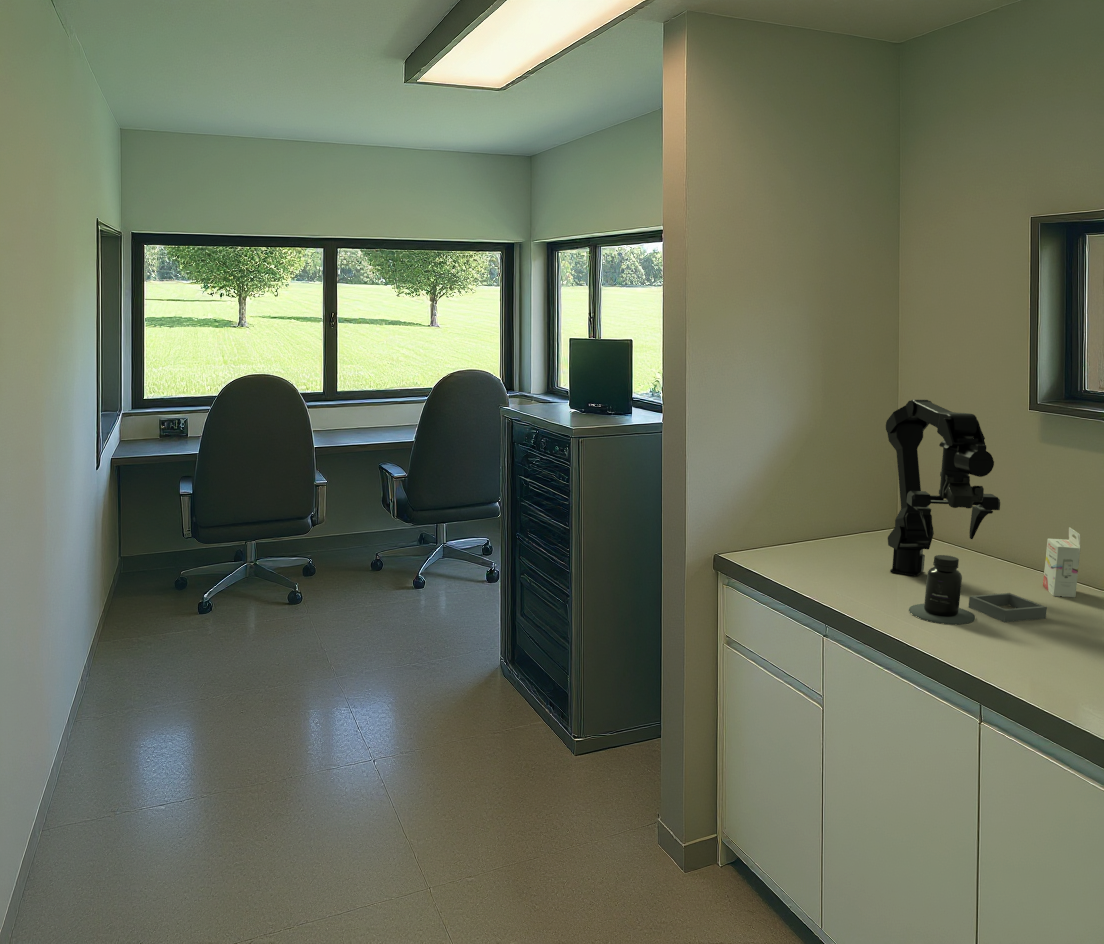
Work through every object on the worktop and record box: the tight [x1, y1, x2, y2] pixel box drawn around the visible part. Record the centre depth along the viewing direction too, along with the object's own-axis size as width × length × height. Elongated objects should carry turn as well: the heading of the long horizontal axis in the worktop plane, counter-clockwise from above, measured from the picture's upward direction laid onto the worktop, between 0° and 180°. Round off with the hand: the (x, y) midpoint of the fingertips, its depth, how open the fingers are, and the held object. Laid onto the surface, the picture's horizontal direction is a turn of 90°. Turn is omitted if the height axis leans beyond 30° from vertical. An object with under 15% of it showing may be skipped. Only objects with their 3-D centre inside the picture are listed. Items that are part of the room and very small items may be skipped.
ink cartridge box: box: [1042, 526, 1081, 598], centre depth 218 cm, size 9×5×15 cm, turn 168°
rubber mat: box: [908, 603, 976, 625], centre depth 201 cm, size 13×13×1 cm
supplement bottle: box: [923, 554, 963, 617], centre depth 200 cm, size 7×7×12 cm
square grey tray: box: [968, 592, 1048, 623], centre depth 203 cm, size 11×11×2 cm
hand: (949, 537), depth 214 cm, fingers open, 9 cm apart
